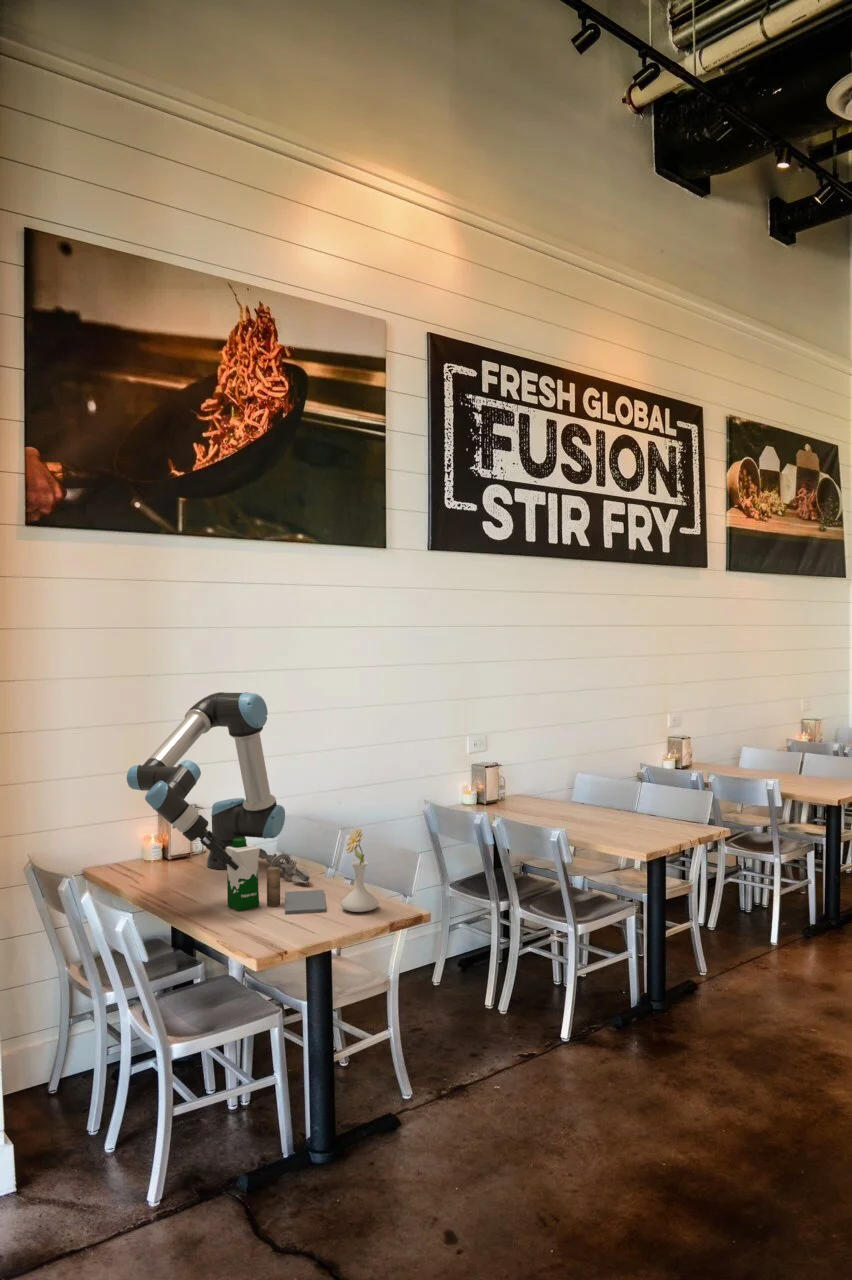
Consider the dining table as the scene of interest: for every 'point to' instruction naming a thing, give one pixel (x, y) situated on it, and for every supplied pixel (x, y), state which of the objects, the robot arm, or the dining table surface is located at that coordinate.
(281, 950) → the dining table surface
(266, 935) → the dining table surface
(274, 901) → the wooden pepper mill
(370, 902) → the flower in vase
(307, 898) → the slate mat
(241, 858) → the soya milk
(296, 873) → the spaceship
